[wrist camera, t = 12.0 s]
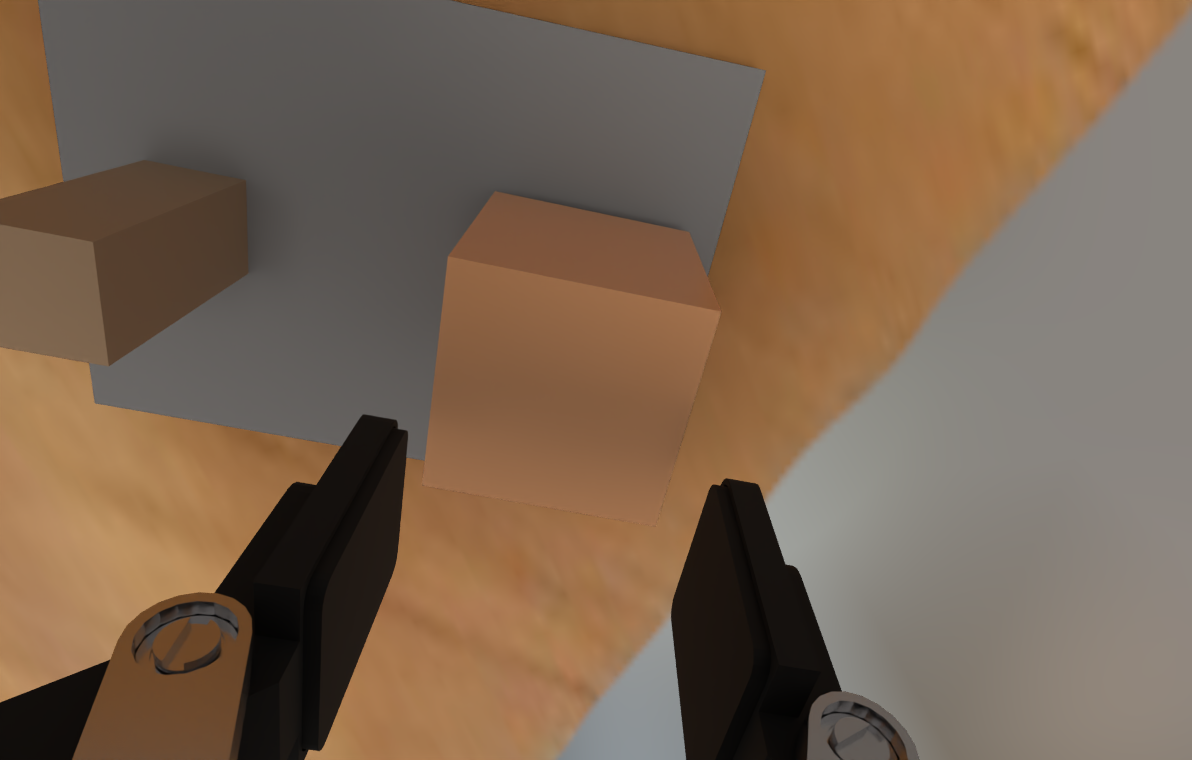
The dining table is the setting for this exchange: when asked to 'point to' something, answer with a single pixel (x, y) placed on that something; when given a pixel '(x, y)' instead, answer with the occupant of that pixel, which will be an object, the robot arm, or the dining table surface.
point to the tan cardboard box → (567, 359)
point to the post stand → (326, 190)
